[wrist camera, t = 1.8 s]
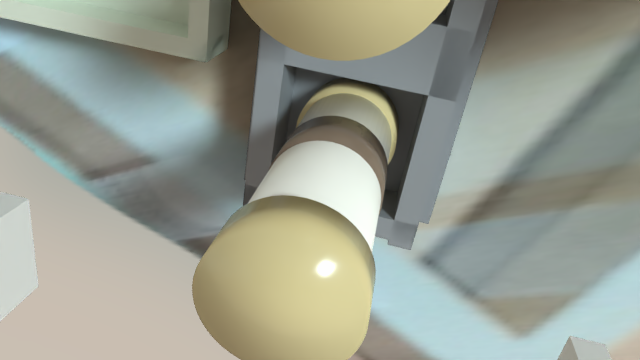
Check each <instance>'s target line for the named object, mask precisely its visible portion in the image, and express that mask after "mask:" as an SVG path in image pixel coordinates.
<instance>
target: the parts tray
mask: <svg viewBox="0 0 640 360" xmlns="http://www.w3.org/2000/svg"><path fill="white" fill-rule="evenodd" d="M230 13H231V0H0V17H1V18H6V19H10V20H15V21H19V22H24V23H28V24H33V25H37V26H42V27H46V28H51V29H56V30H60V31H65V32H69V33H74V34H78V35H83V36H87V37H92V38H97V39H101V40H106V41H110V42H115V43H119V44H124V45H128V46H133V47H138V48H142V49H147V50H151V51H156V52H160V53H165V54H169V55H174V56H179V57H183V58H188V59H192V60H197V61H201V62H208V61H209V60H211V59H212V58H214V57H216V56H217V55H219V54H220V53H222V52H223V51H225V50H227V49H228V39H229V26H230Z"/></svg>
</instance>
